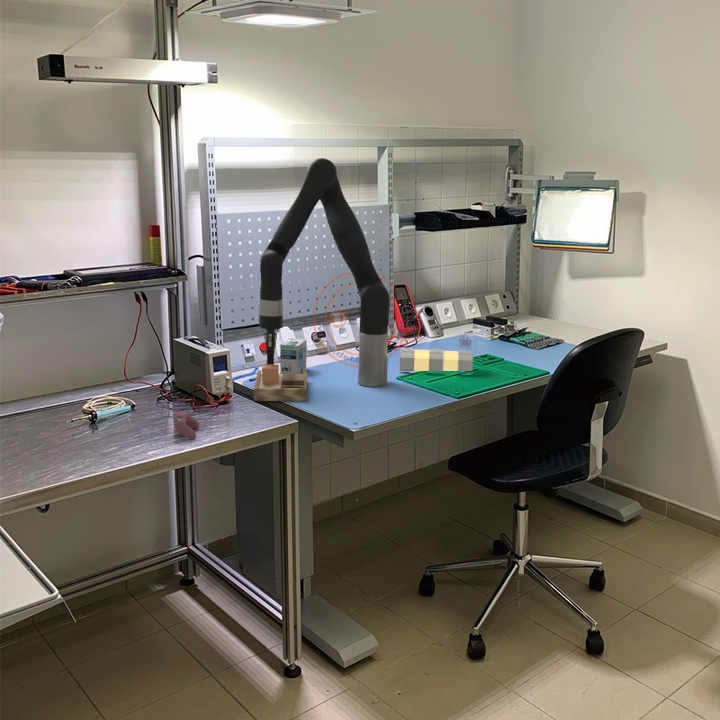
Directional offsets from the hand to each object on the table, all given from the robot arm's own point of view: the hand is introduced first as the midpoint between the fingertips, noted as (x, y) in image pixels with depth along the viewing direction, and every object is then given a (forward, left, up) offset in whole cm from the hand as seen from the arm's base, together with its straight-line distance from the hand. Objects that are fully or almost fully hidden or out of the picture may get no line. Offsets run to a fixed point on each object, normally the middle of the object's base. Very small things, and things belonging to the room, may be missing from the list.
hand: (270, 365), depth 262 cm
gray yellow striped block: (-57, -16, -6) cm, 60 cm away
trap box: (-4, +9, -6) cm, 11 cm away
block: (0, +8, -3) cm, 8 cm away
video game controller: (+20, +50, -6) cm, 54 cm away
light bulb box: (-7, -14, -6) cm, 17 cm away
